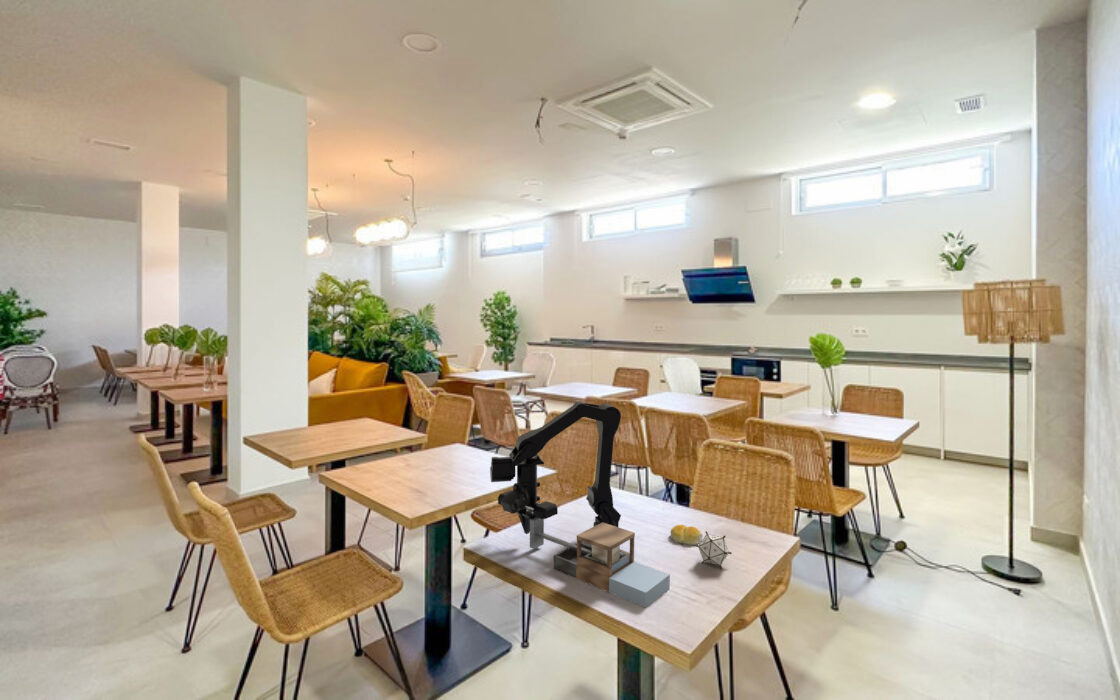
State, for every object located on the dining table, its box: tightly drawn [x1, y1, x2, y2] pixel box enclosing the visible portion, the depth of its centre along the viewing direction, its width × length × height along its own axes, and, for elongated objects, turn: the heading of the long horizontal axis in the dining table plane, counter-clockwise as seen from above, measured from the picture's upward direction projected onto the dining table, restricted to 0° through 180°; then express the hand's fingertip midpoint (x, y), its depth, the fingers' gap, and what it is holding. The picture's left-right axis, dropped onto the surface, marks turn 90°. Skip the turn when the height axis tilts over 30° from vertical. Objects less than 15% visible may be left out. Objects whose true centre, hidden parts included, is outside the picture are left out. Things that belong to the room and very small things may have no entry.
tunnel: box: [553, 522, 636, 593], centre depth 132 cm, size 18×11×11 cm, turn 50°
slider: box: [529, 517, 630, 573], centre depth 136 cm, size 29×8×8 cm, turn 50°
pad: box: [608, 561, 671, 608], centre depth 123 cm, size 10×11×4 cm
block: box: [591, 545, 621, 564], centre depth 130 cm, size 5×5×5 cm
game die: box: [694, 530, 733, 569], centre depth 137 cm, size 9×8×10 cm
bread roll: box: [670, 524, 703, 546], centre depth 153 cm, size 8×9×4 cm
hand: (526, 533), depth 148 cm, fingers closed
